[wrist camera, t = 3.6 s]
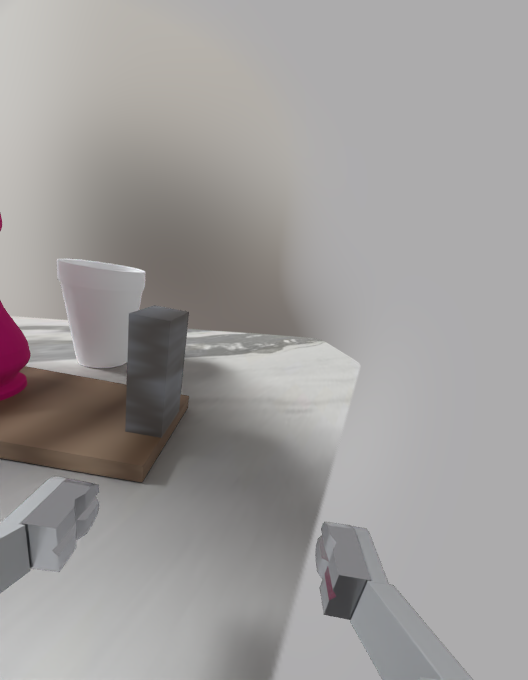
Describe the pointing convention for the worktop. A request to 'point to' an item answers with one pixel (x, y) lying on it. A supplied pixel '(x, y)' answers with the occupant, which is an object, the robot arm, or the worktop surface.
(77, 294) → the foam cup
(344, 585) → the robot arm
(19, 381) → the pepper mill
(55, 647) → the worktop surface
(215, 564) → the worktop surface
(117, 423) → the strip
